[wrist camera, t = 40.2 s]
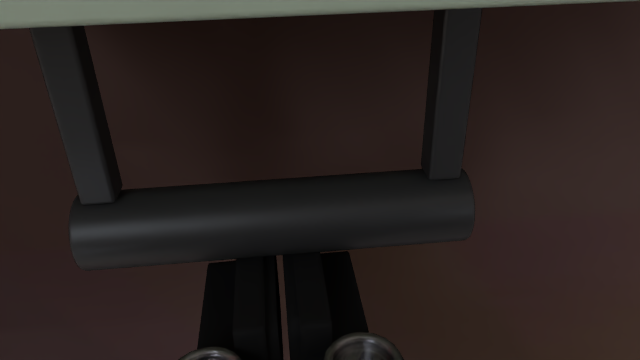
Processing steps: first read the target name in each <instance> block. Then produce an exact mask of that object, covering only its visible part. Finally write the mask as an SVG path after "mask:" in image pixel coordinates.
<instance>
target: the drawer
mask: <svg viewBox="0 0 640 360" xmlns="http://www.w3.org/2000/svg"><path fill="white" fill-rule="evenodd" d="M625 1H640V0H0V29H17V28H29V30H30V33H31V37H32V40H33V43H34V47H35V50H36V54H37V57H38V60H39V64H40V67H41V70H42V74H43V77H44V81H45V84H46V87H47V91H48V94H49V98H50V101H51V104H52V108H53V111H54V114H55V118H56V121H57V125H58V128H59V131H60V135H61V138H62V141H63V145H64V148H65V152H66V155H67V158H68V162H69V165H70V169H71V172H72V175H73V179H74V182H75V185H76V189H77V192H78V196H77V197H76V198H75V199H74V201H73V204H72V207H71V211H70V217H69V241H70V247H71V251H72V255H73V258H74V260H75V262H76V264H77V265H78V266H79V268H81V269H83V270H86V271H90V270H102V269H114V268H127V267H139V266H152V265H164V264H176V263H189V262H201V261H214V260H226V259H238V258H251V257H263V256H276V255H288V254H301V253H313V252H325V251H338V250H350V249H363V248H375V247H387V246H400V245H412V244H425V243H437V242H449V241H462V240H466V239H467V238H469V237H470V235H471V233H472V230H473V226H474V220H475V202H474V195H473V190H472V186H471V183H470V180H469V177H468V175H467V174H466V172H465V171H464V170H463V169H462V168H461V167H462V159H463V152H464V144H465V137H466V129H467V121H468V114H469V106H470V98H471V91H472V83H473V76H474V68H475V60H476V53H477V45H478V37H479V30H480V22H481V14H482V8H490V7H512V6H535V5H557V4H580V3H603V2H625ZM422 10H434V19H433V31H432V43H431V54H430V66H429V77H428V89H427V100H426V112H425V123H424V135H423V146H422V158H421V166H422V168H423V169H416V170H402V171H387V172H373V173H358V174H344V175H329V176H315V177H300V178H286V179H272V180H257V181H243V182H228V183H214V184H199V185H185V186H170V187H156V188H141V189H127V190H121V188H122V181H121V177H120V173H119V169H118V165H117V160H116V156H115V152H114V148H113V144H112V140H111V136H110V132H109V128H108V123H107V119H106V115H105V111H104V107H103V103H102V99H101V95H100V91H99V86H98V82H97V78H96V74H95V70H94V66H93V62H92V58H91V54H90V49H89V45H88V41H87V37H86V33H85V29H84V26H85V25H107V24H130V23H152V22H175V21H197V20H220V19H242V18H265V17H287V16H310V15H332V14H355V13H377V12H400V11H422Z"/></svg>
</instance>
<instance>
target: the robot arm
mask: <svg viewBox="0 0 640 360" xmlns="http://www.w3.org/2000/svg"><path fill="white" fill-rule="evenodd" d="M283 267H284V281H285V295H286V309H287V323H288V337H289V350H290V360H404V359H403V357H402V355H401V353H400V352H399V350H398V349H397V348H396V346H395V345H394V344H393V343H391V342H390V341H389V340H387V339H386V338H384V337H382V336H379V335H377V334H374V333H369V331H368V327H367V323H366V319H365V315H364V311H363V307H362V303H361V299H360V295H359V291H358V287H357V283H356V279H355V275H354V271H353V267H352V263H351V259H350V255H349V252H348V251H345V252H333V253H322V254H320V252H313V253H301V254H288V255H283ZM179 360H283V344H282V326H281V308H280V295H279V283H278V271H277V260H276V256H263V257H251V258H238V259H236V261H229V262H218V263H209V265H208V269H207V276H206V284H205V292H204V300H203V308H202V316H201V324H200V332H199V339H198V347H197V350H194V351H191V352H189V353H188V354H186V355H184V356H183V357H181V358H180V359H179Z"/></svg>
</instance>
